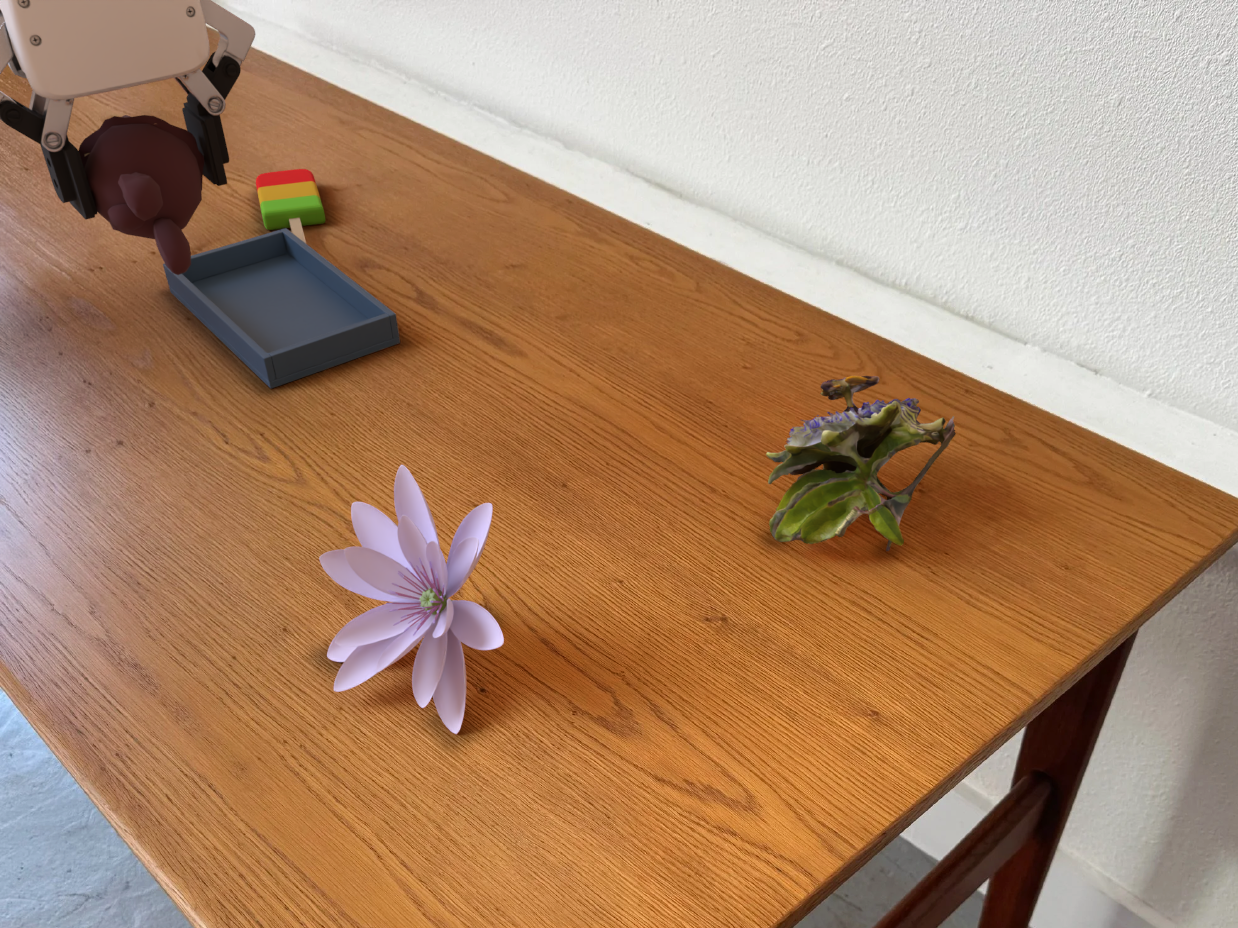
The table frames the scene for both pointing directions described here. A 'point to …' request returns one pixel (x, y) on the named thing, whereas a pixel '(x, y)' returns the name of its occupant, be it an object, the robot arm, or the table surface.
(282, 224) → the popsicle
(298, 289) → the tray
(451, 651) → the water lily
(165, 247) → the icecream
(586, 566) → the table surface
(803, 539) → the passion flower
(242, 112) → the table surface
